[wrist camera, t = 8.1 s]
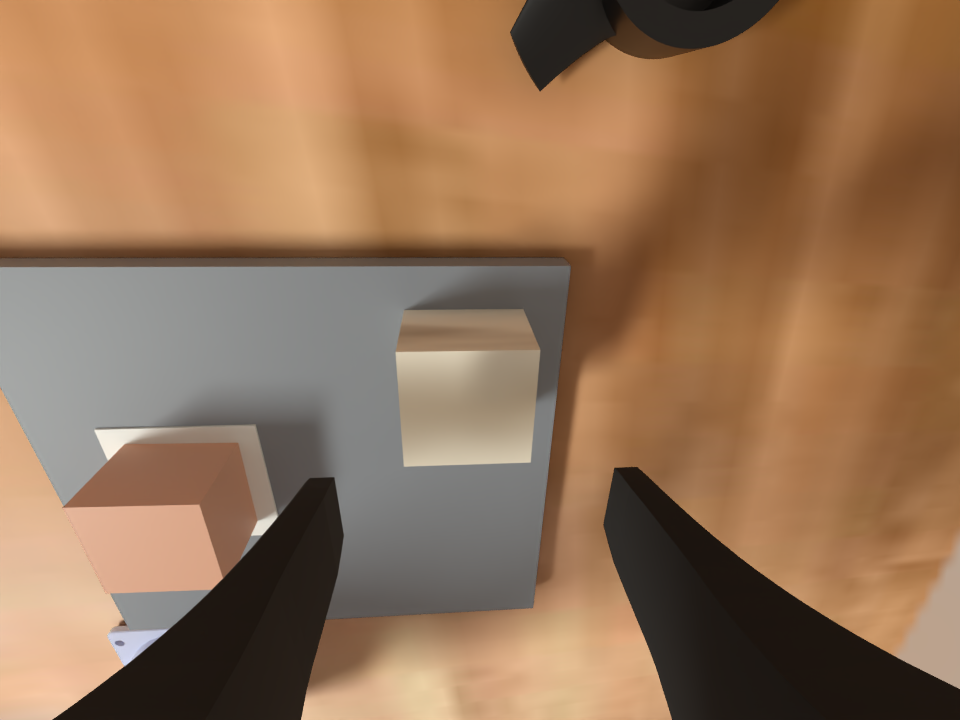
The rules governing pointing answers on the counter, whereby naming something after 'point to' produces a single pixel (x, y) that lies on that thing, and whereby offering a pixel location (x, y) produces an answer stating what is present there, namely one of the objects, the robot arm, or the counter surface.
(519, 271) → the board
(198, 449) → the base block
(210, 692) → the robot arm
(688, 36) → the duct tape
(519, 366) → the top block
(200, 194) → the counter surface
